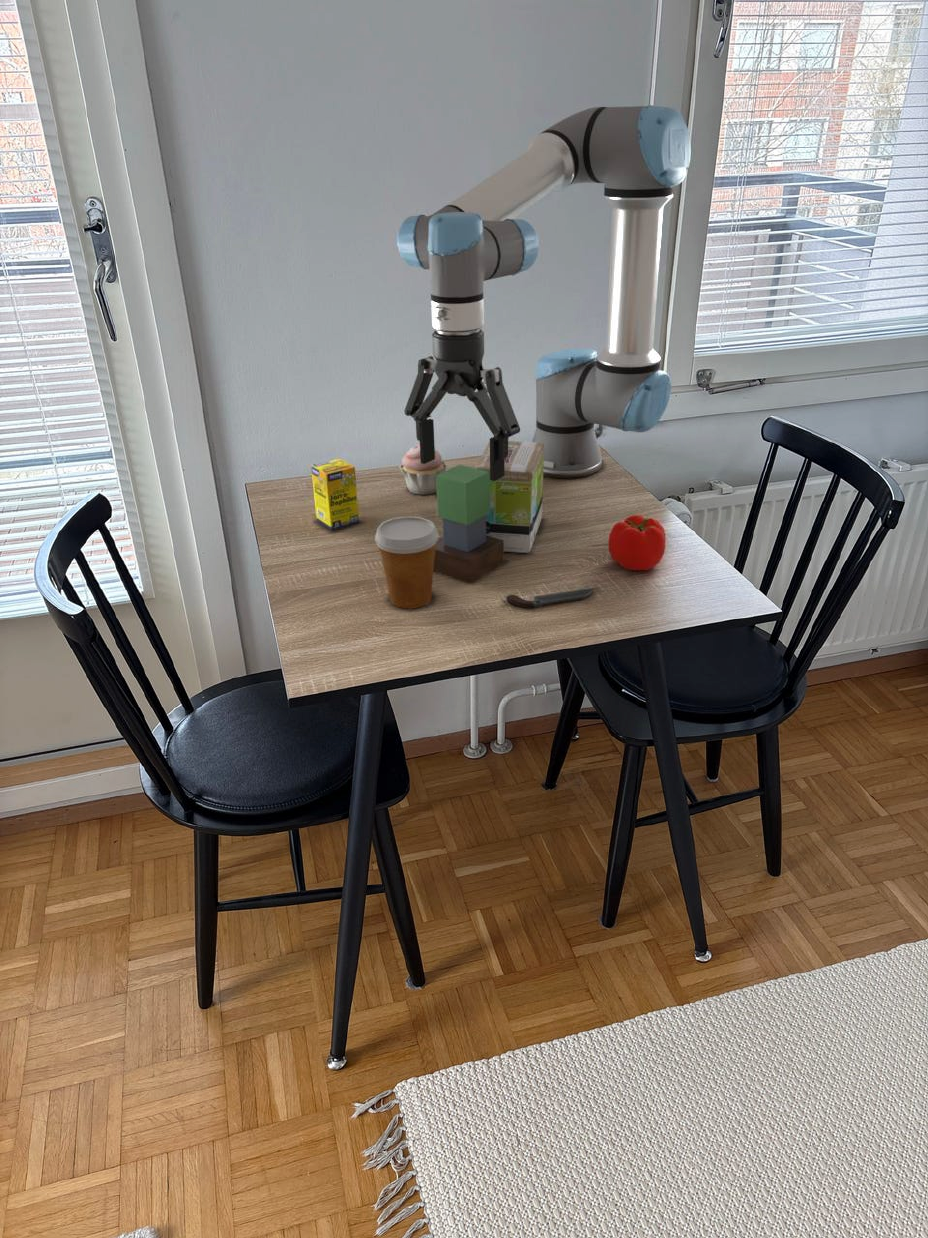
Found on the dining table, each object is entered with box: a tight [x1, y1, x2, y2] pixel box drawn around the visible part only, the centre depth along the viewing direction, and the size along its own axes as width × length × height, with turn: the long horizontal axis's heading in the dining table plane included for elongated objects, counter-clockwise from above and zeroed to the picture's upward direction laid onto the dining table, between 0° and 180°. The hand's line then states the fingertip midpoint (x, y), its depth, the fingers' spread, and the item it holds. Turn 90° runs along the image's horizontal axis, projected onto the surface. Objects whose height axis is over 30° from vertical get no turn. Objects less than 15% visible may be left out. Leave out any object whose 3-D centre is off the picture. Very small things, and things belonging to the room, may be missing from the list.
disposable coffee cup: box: [374, 515, 439, 609], centre depth 141 cm, size 10×10×12 cm
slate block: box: [441, 515, 486, 552], centre depth 150 cm, size 5×5×5 cm
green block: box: [436, 464, 490, 525], centre depth 147 cm, size 6×6×7 cm
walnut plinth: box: [433, 535, 505, 584], centre depth 152 cm, size 9×9×4 cm
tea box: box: [474, 440, 544, 554], centre depth 159 cm, size 15×10×15 cm, turn 168°
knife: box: [506, 586, 596, 608], centre depth 142 cm, size 14×4×1 cm, turn 104°
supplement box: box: [310, 458, 360, 532], centre depth 167 cm, size 6×6×11 cm
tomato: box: [607, 514, 667, 571], centre depth 150 cm, size 9×9×8 cm
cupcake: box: [398, 441, 448, 496], centre depth 180 cm, size 9×9×10 cm
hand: (461, 469), depth 145 cm, fingers open, 13 cm apart
